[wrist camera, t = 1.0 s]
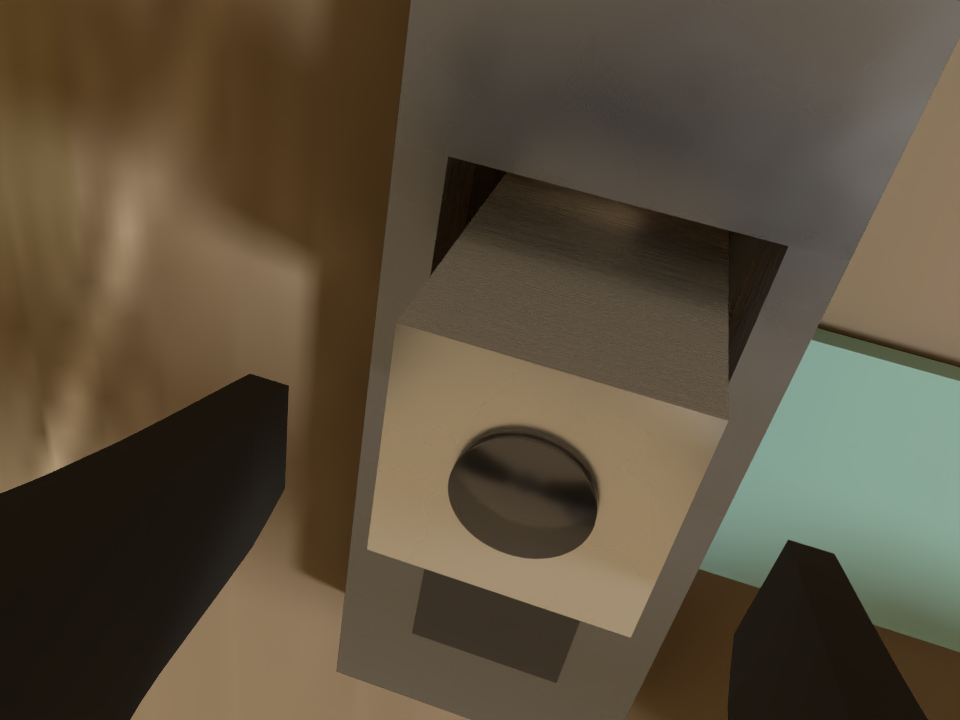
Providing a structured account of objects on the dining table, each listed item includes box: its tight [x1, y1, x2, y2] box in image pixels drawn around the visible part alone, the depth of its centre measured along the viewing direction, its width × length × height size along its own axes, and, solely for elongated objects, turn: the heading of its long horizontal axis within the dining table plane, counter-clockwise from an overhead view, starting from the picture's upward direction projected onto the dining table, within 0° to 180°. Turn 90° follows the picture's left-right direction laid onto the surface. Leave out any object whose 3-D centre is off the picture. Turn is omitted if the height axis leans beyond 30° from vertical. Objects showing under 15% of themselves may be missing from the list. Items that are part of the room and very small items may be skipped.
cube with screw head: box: [367, 172, 728, 638], centre depth 14 cm, size 4×4×7 cm
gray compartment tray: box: [336, 0, 960, 720], centre depth 18 cm, size 8×20×3 cm, turn 170°
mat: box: [699, 328, 960, 652], centre depth 18 cm, size 7×7×1 cm
